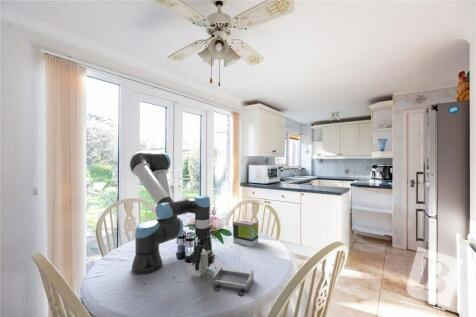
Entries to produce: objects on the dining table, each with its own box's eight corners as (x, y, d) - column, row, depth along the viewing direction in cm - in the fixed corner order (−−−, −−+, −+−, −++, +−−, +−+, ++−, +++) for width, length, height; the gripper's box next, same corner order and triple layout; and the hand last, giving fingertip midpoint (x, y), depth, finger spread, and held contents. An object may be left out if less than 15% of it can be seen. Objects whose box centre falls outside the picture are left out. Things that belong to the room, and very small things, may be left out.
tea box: (258, 242, 150) (258, 221, 151) (251, 247, 142) (251, 224, 142) (240, 238, 158) (240, 218, 158) (232, 242, 150) (232, 221, 150)
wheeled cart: (210, 290, 95) (210, 280, 95) (221, 274, 108) (221, 265, 108) (246, 297, 91) (246, 286, 91) (253, 280, 103) (253, 270, 103)
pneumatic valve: (211, 277, 106) (211, 252, 106) (189, 274, 109) (189, 250, 109) (215, 271, 112) (215, 248, 112) (194, 269, 114) (193, 246, 114)
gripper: (199, 234, 98) (199, 283, 98) (217, 221, 120) (217, 261, 120) (184, 233, 101) (184, 281, 101) (205, 220, 122) (205, 259, 122)
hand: (202, 270), depth 110 cm, fingers open, 10 cm apart
